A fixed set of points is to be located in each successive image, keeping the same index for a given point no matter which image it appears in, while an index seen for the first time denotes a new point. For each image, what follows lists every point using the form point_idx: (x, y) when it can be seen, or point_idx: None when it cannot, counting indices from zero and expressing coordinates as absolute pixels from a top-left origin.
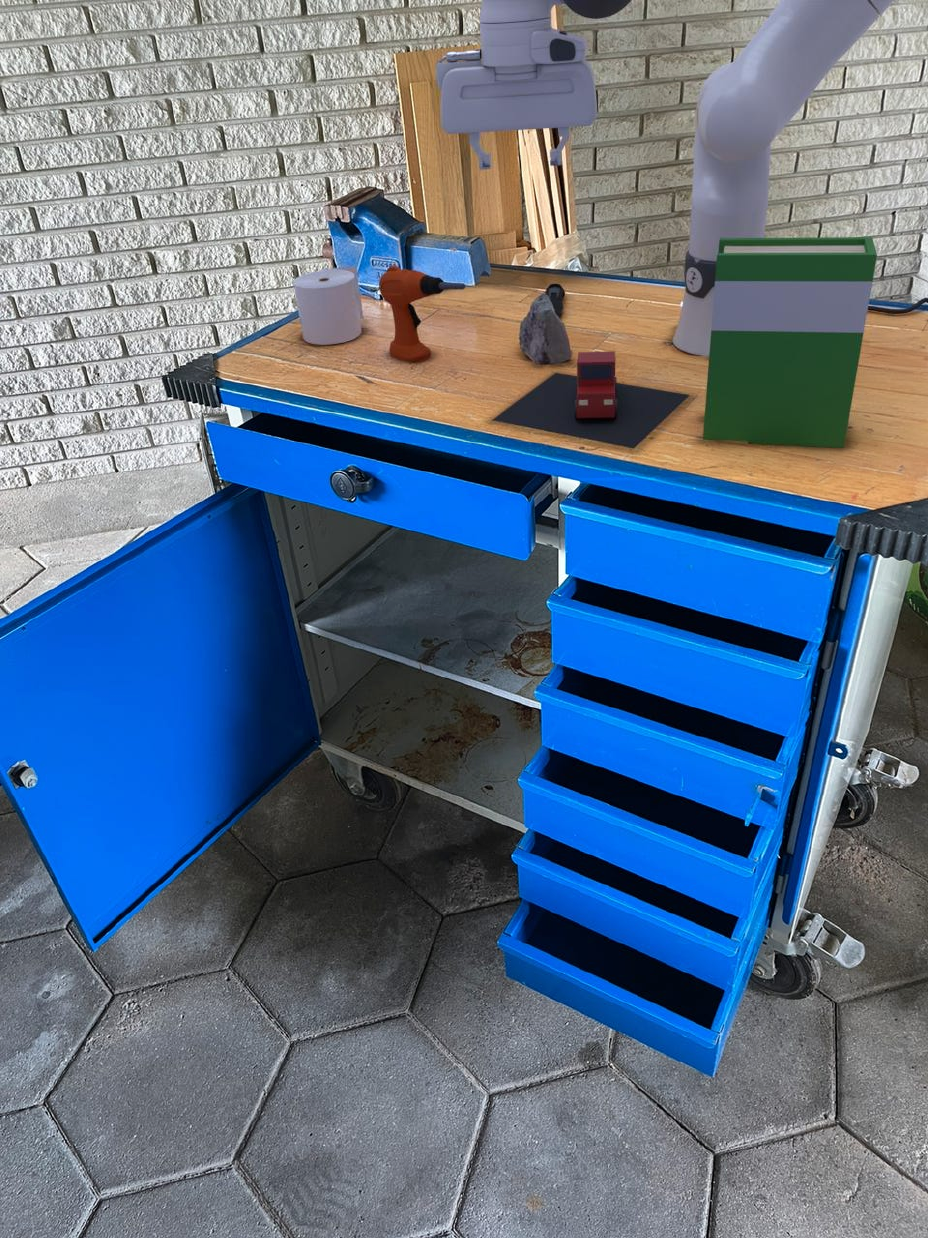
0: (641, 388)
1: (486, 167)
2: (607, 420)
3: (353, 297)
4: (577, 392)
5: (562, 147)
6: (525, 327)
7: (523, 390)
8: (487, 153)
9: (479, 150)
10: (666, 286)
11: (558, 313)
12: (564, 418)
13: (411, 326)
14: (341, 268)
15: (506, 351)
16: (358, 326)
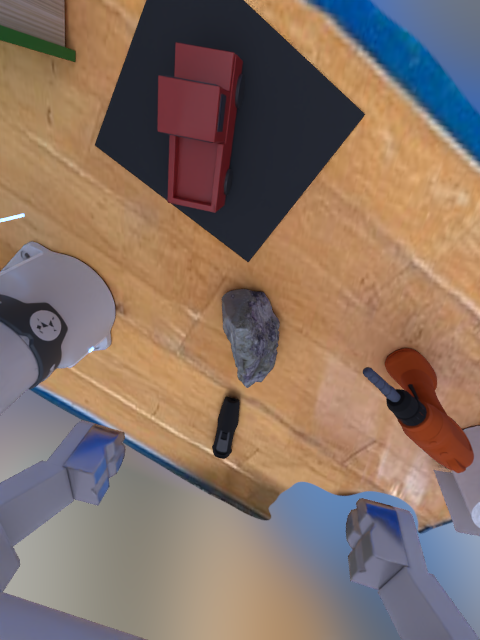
0: (151, 182)
1: (379, 505)
2: None
3: (473, 476)
4: (232, 81)
5: (28, 469)
6: (270, 341)
7: (296, 224)
8: (368, 577)
9: (431, 598)
10: None
11: (224, 401)
12: (259, 95)
13: (418, 386)
14: (476, 533)
15: (293, 344)
16: None
